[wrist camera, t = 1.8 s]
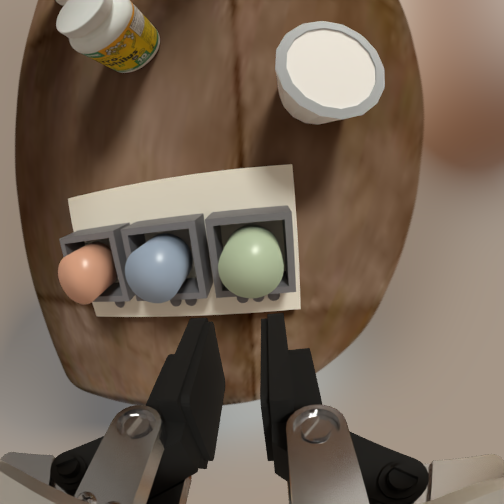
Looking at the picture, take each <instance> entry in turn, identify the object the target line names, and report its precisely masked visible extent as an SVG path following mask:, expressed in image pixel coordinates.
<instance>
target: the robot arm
mask: <svg viewBox="0 0 504 504" xmlns="http://www.w3.org/2000/svg"><path fill="white" fill-rule="evenodd" d="M67 1H68V0H56V2H57V3H59V4H60V5H61V6H64V5H65V4H66V2H67ZM224 391H225V378H224V373H223V368H222V363H221V358H220V353H219V348H218V343H217V338H216V333H215V328H214V324H213V322H208V319H207V318H191V319H190V320H189V323H188V325H187V327H186V329H185V332H184V334H183V336H182V339H181V341H180V343H179V346H178V348H177V350H176V353H175V354H170V355H168V357H167V359H166V361H165V363H164V365H163V367H162V370H161V372H160V374H159V376H158V378H157V381H156V383H155V385H154V388H153V390H152V392H151V394H150V397H149V399H148V401H147V403H146V406H145V405H135V406H130V407H128V408H125V409H123V410H122V411H120V412H119V413H118V414H117V415H116V416H115V418H114V419H113V420H112V422H111V424H110V426H109V428H108V430H107V432H106V434H105V436H103V437H101V438H98V439H96V440H94V441H91V442H89V443H87V444H84V445H82V446H79V447H77V448H74V449H72V450H69V451H66V452H64V453H62V454H60V455H58V456H57V457H56V458H55V457H54V456H53V455H38V454H26V453H16V452H10V453H7V454H5V455H4V456H3V457H2V458H1V459H0V504H186V502H187V497H188V493H189V488H190V484H191V475H193V474H195V473H196V472H197V471H198V468H201V469H207V464H208V461H213V459H214V455H215V448H216V441H217V436H218V428H219V422H220V416H221V410H222V404H223V398H224ZM260 397H261V410H262V419H263V427H264V434H265V442H266V450H267V458H268V461H274V467H275V473H276V474H277V475H279V476H280V477H282V478H283V479H285V480H286V481H287V484H288V498H289V504H504V460H503V459H502V458H501V457H500V456H497V455H495V454H487V455H481V456H475V457H467V458H458V459H448V460H435V461H432V463H431V464H422V463H421V462H420V461H418V460H416V459H414V458H411V457H409V456H406V455H403V454H401V453H398V452H396V451H393V450H391V449H388V448H386V447H383V446H381V445H379V444H376V443H374V442H372V441H369V440H367V439H365V438H363V437H360V436H358V435H356V434H354V433H352V432H350V431H349V429H348V425H347V422H346V420H345V418H344V416H343V414H342V413H340V412H339V411H338V410H337V409H335V408H332V407H330V406H326V405H322V401H321V396H320V392H319V387H318V383H317V378H316V374H315V369H314V365H313V360H312V356H311V352H310V349H309V348H306V349H296V350H288V345H287V337H286V329H285V322H284V314H283V313H278V314H267V319H261V387H260Z"/></svg>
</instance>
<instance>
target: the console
mask: <svg viewBox="0 0 504 504" xmlns="http://www.w3.org/2000/svg"><path fill="white" fill-rule="evenodd" d="M68 203H69V209H70V215H71V221H72V226H73V231H74V232H73V233H71V234H69V235H67V236H64V237H62V238H60V239H59V240H60V244H61V248H62V253H63V257H65V256H67V255H69V254H71V253H72V252H74V251H76V250H78V249H80V248H81V247H83V246H85V245H87V244H89V243H91V242H100V243H103V244H105V245H107V246H108V247H109V248H110V249H111V250H112V255H113V259H114V263H115V268H116V272H117V276H118V277H117V279H116V281H115V282H114V283H113V284H112V285H111V286H109V287H108V288H107V289H106V290H105V291H104V292H103V293H102V294H101V295H99V296H98V297H97V298H96V299H95V300H94V301H93V302H92V304H93V307H94V310H95V313H96V316H100V317H167V316H201V315H223V314H240V313H256V312H269V311H282V310H293V309H300V278H299V256H298V237H297V220H296V205H295V192H294V179H293V167H292V164H288V165H275V166H262V167H251V168H241V169H232V170H223V171H215V172H207V173H199V174H192V175H185V176H179V177H172V178H166V179H160V180H154V181H148V182H143V183H137V184H132V185H127V186H122V187H117V188H112V189H107V190H103V191H98V192H94V193H89V194H85V195H81V196H76V197H72V198H68ZM246 225H259V226H262V227H265V228H267V229H268V230H270V231H271V232H272V233H273V234H274V235H275V237H276V238H277V240H278V242H279V245H280V250H281V255H282V259H283V265H284V271H283V276H282V279H281V281H280V283H279V285H278V286H277V287H276V288H275V289H274V290H273V291H272V292H270V293H269V294H267V295H265V296H263V297H259V298H244V297H240V296H237V295H235V294H234V293H232V292H231V291H229V290H228V289H227V288H226V287H225V285H224V284H223V283H222V281H221V279H220V276H219V272H218V263H219V259H220V256H221V254H222V251H223V249H224V247H225V245H226V242H227V240H228V238H229V237H230V235H231V234H232V233H233V232H234V231H235V230H237V229H238V228H240V227H242V226H246ZM163 233H168V234H173V235H176V236H178V237H179V238H181V239H182V240H183V241H184V242H185V243H186V244H187V245H188V247H189V248H190V250H191V253H192V258H193V264H192V268H191V271H190V273H189V274H188V276H187V278H186V279H185V281H184V282H183V284H182V285H181V287H180V289H179V290H178V292H177V293H176V295H175V296H174V297H173V298H172V299H170V300H169V301H166V302H163V303H151V302H147V301H145V300H143V299H141V298H140V297H138V296H137V295H136V294H135V293H134V292H133V291H132V289H131V288H130V286H129V285H128V282H127V280H126V276H125V265H126V261H127V259H128V257H129V256H130V254H131V253H132V252H134V251H135V250H136V249H138V248H139V247H140V246H142V245H143V244H144V243H146V242H147V241H149V240H150V239H151V238H153V237H154V236H156V235H159V234H163Z"/></svg>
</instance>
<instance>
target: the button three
mask: <svg viewBox="0 0 504 504" xmlns="http://www.w3.org/2000/svg"><path fill="white" fill-rule="evenodd" d="M283 271H284V265H283V259H282V255H281V250H280V245H279V242H278V240H277V238H276V237H275V235H274V234H273V233H272V232H271V231H270V230H268V229H267V228H265V227H262V226H259V225H246V226H242V227H240V228H238V229H237V230H235V231H234V232H233V233H232V234H231V235H230V237H229V238H228V240H227V242H226V245H225V247H224V249H223V251H222V254H221V256H220V259H219V263H218V272H219V276H220V279H221V281H222V283H223V284H224V285H225V287H226V288H227V289H228V290H229V291H231V292H232V293H234V294H235V295H237V296H240V297H244V298H259V297H263V296H265V295H267V294H269V293H270V292H272V291H273V290H274V289H275V288H276V287H277V286H278V285H279V283H280V281H281V279H282V276H283Z"/></svg>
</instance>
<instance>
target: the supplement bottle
mask: <svg viewBox="0 0 504 504" xmlns="http://www.w3.org/2000/svg"><path fill="white" fill-rule="evenodd" d="M56 27H57V30H58V31H59V32H60V33H62V34H63V35H65V36H67V37H68V38H69V42H70V44H71V46H72V48H73V49H74V50H76V51H77V52H79V53H81V54H83V55H85V56H87V57H90V58H92V59H93V60H96V61H97V62H99V63H101V64H103V65H105V66H107V67H109V68H111V69H113V70H115V71H117V72H120V73H129V72H133V71H136V70H138V69H140V68H142V67H143V66H145V65H146V64H147V63H148V62H149V61H150V60H151V59H152V58H153V57H154V56H155V54H156V52H157V51H158V49H159V45H160V36H159V33H158V31H157V29H156V28H155V27H154V26H153V25H152V24H151V22H150V21H149V20H148V19H147V18H146V17H145V16H144V15H143V14H142V13H141V12H140V11H139V9H138V8H137V7H136V6H135V5H134V4H133V3H132V2H131V1H130V0H68V1H67V2H66V4H65V5H64V6H63V7H62V9H61V11H60V13H59V15H58V17H57V21H56Z"/></svg>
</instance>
